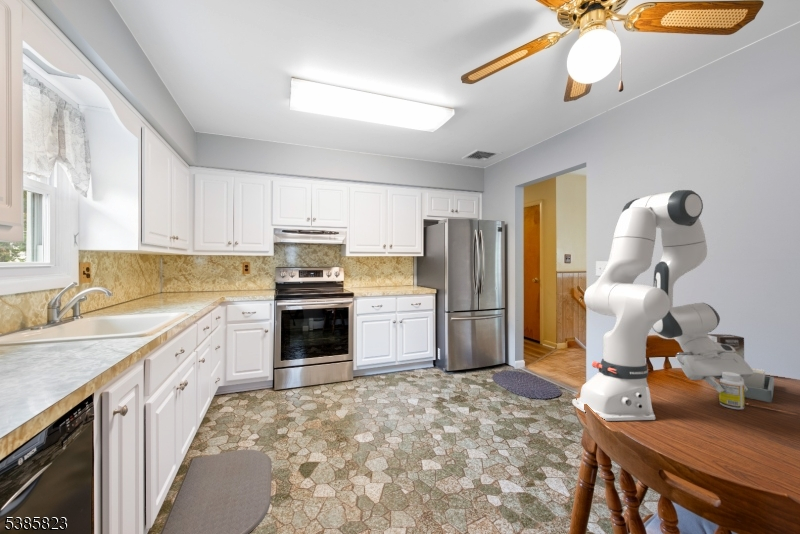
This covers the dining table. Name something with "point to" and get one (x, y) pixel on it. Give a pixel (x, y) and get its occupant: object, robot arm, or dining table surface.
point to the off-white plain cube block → (756, 379)
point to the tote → (762, 391)
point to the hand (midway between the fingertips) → (733, 391)
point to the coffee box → (730, 342)
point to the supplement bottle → (732, 391)
